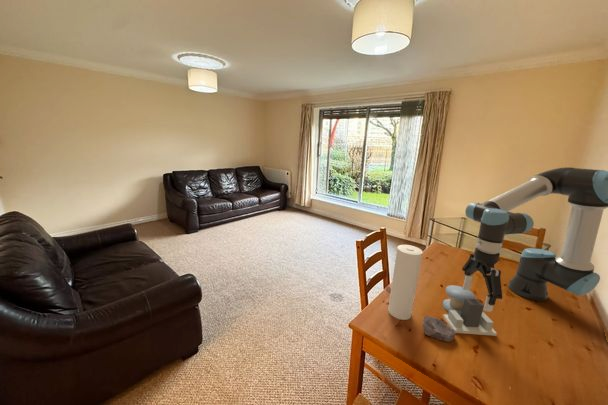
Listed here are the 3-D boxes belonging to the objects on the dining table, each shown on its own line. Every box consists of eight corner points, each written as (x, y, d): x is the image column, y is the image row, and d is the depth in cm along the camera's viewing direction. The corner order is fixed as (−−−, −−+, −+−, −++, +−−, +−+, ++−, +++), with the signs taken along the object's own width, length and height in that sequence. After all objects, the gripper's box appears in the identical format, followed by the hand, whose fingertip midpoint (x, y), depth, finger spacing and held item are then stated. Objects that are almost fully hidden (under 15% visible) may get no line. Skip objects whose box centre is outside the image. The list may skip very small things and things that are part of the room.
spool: (462, 302, 116) (465, 286, 114) (476, 318, 105) (481, 301, 103) (438, 300, 116) (441, 284, 114) (450, 316, 106) (454, 299, 103)
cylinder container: (413, 321, 101) (425, 254, 94) (389, 317, 103) (399, 251, 96) (408, 307, 110) (419, 245, 103) (386, 303, 112) (396, 242, 105)
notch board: (481, 319, 105) (483, 309, 103) (496, 335, 96) (499, 325, 95) (442, 316, 105) (444, 307, 104) (454, 332, 96) (456, 322, 95)
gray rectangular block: (471, 320, 102) (477, 299, 100) (478, 327, 98) (483, 305, 96) (459, 319, 102) (464, 298, 100) (465, 326, 98) (471, 304, 96)
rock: (455, 347, 89) (457, 337, 88) (420, 335, 95) (422, 325, 94) (454, 333, 96) (456, 323, 95) (422, 322, 102) (424, 313, 101)
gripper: (458, 236, 104) (450, 281, 110) (501, 266, 80) (487, 321, 86) (476, 237, 104) (467, 282, 109) (525, 267, 80) (509, 322, 85)
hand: (476, 299), depth 97 cm, fingers open, 13 cm apart
